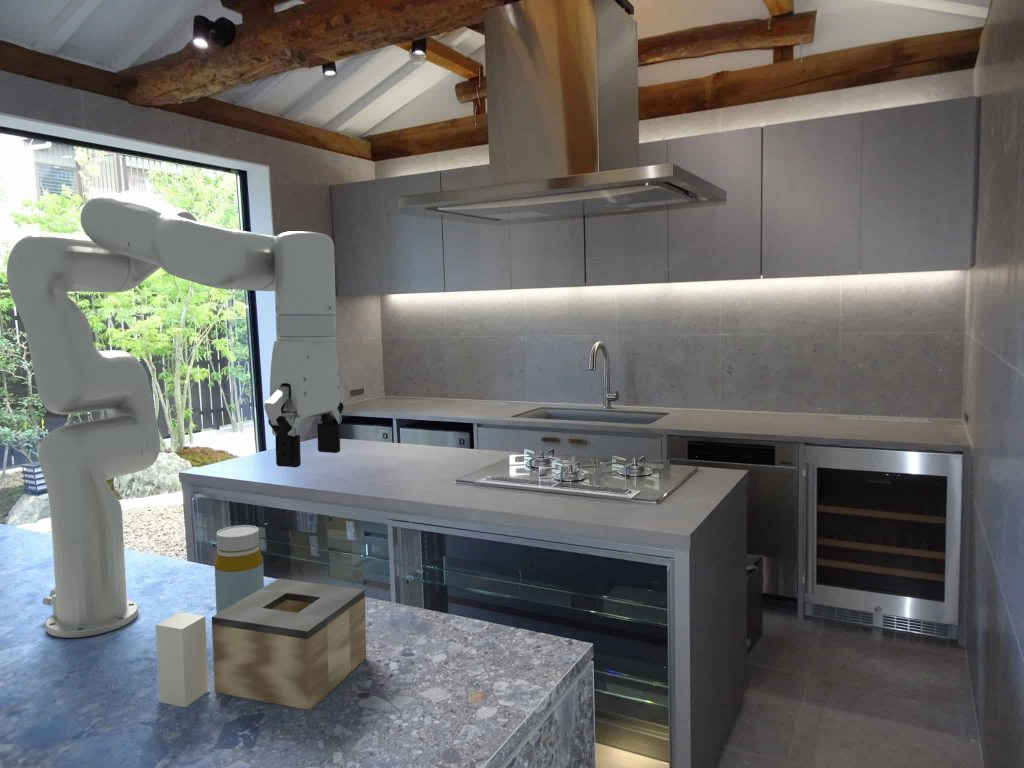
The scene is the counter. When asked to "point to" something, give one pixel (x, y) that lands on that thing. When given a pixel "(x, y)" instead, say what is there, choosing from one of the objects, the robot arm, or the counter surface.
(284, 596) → the socket
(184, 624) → the peg
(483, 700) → the counter surface
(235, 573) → the bottle
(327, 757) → the counter surface
